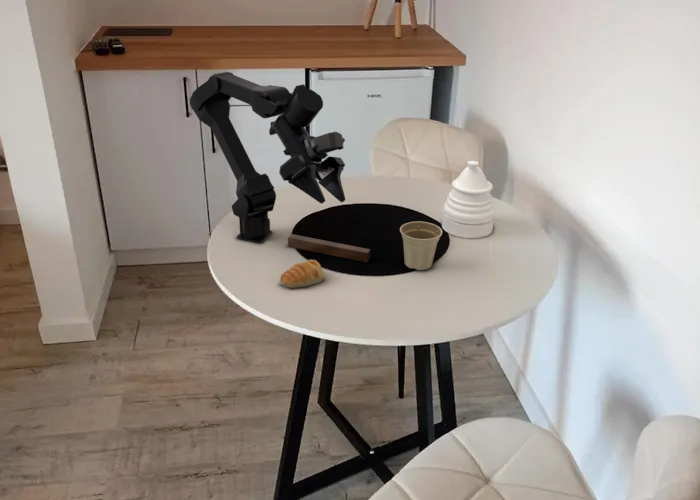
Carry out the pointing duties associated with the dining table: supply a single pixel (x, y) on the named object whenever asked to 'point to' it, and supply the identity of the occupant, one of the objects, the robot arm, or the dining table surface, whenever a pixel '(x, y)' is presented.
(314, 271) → the pastry
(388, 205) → the dining table surface
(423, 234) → the flower pot
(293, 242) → the strip
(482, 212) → the honey pot
